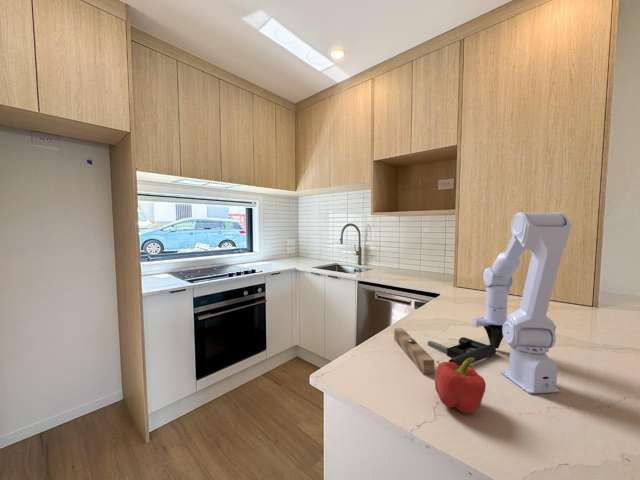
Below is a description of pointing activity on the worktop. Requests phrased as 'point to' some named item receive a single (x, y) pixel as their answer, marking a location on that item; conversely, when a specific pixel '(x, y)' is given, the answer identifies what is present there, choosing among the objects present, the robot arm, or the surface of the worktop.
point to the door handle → (459, 355)
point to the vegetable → (459, 386)
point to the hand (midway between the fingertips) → (494, 347)
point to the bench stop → (414, 351)
